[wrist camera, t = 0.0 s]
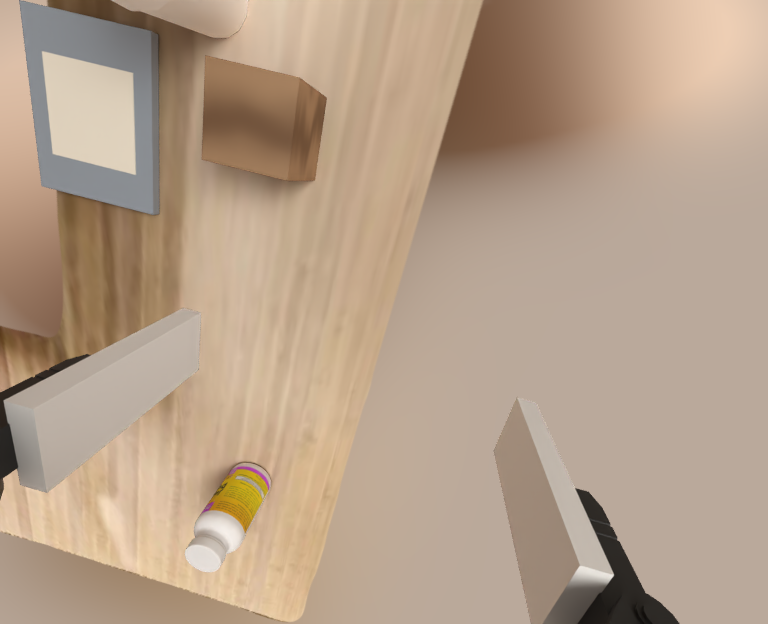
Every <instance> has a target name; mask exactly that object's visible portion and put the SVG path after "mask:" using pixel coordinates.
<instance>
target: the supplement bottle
mask: <svg viewBox="0 0 768 624" xmlns="http://www.w3.org/2000/svg"><path fill="white" fill-rule="evenodd" d="M270 488H271V479H270V477H269V475H268V473H267V472H266V471H265V470H264V469H263V468H261V467H260V466H258V465H256V464H252V463H241V464H238V465H236V466H235V467H234V468H233V469H232V470H231V471H230V473H229V474H228V476H227V477H226V478H225V480H224V481H223V483H222V484H221V486H220V487H219V488H218V490H217V491H216V493H215V494H214V496H213V497H212V499H211V500H210V502H209V503H208V504H207V506H206V507H205V509H204V510H203V512H202V513H201V515H200V516H199V517H198V519H197V521H196V523H195V526H194V535H195V538H194V539H193V540H192V541H191V542H190V544H189V545H188V547H187V548H186V550H185V557H186V560H187V561H188V562H189V564H191V565H192V566H193V567H194V568H196V569H198V570H200V571H204V572H214V571H216V570H218V569H219V568H220V566H221V564H222V563H223V561H224V559H225V556H226V554H228V553H231V552H233V551H235V550H236V549H237V548H238V547H239V546H240V545H241V544H242V542H243V540H244V538H245V536H246V534H247V532H248V530H249V528H250V527H251V525H252V523H253V521H254V519H255V517H256V515H257V513H258V512H259V510H260V508H261V506H262V504H263V502H264V500H265V498H266V497H267V495H268V493H269V491H270Z"/></svg>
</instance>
